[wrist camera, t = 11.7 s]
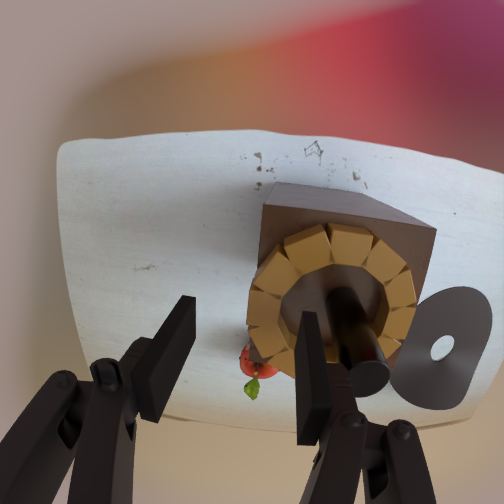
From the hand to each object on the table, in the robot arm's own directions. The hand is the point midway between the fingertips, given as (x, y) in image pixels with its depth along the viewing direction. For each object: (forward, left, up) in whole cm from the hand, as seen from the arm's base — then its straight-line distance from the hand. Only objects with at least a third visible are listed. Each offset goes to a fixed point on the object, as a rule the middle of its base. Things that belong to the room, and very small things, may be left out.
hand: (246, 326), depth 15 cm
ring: (0, +5, -4) cm, 7 cm away
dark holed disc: (+16, +35, -27) cm, 47 cm away
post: (0, +6, -4) cm, 7 cm away
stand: (0, +6, -26) cm, 27 cm away
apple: (+20, +1, -27) cm, 33 cm away
